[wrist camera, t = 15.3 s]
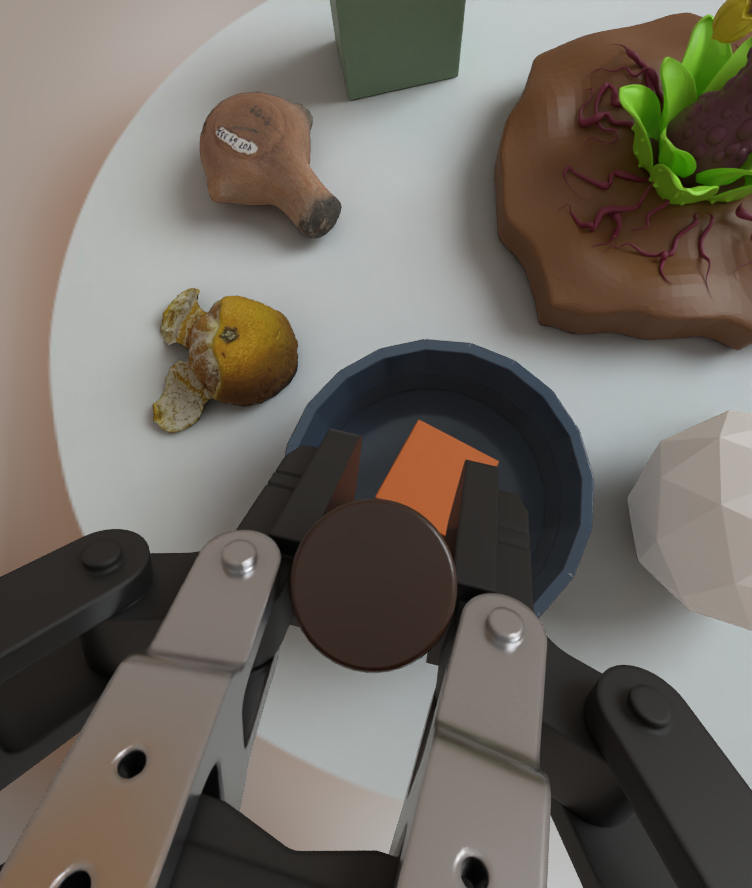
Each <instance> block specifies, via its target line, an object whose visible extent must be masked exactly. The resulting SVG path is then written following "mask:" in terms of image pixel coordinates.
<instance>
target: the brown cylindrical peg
mask: <svg viewBox="0 0 752 888" xmlns="http://www.w3.org/2000/svg"><path fill="white" fill-rule="evenodd" d="M290 598H291V603H292V608H293V612H294V614H295V617H296V620H297V622H298V624H299V626H300V628H301V630H302V632H303V633H304V635H305V636H306V638H307V639H308V641H309V642H310V643H311V644H312V645H313V646H314V647H315V648H316V649H317V650H318V651H319V652H320V653H321V654H322V655H324V656H325V657H326V658H328V659H329V660H331V661H332V662H334V663H336V664H338V665H340V666H342V667H345V668H348V669H351V670H354V671H360V672H366V673H381V672H389V671H393V670H396V669H400V668H403V667H405V666H407V665H410V664H412V663H413V662H415V661H417V660H418V659H420V658H421V657H423V656H424V655H425V654H426V653H427V652H429V651H430V650H431V649H432V648H433V647H434V646H435V645H436V643H437V642H438V641H439V640H440V638H441V637H442V635H443V634H444V632H445V631H446V629H447V627H448V625H449V623H450V620H451V618H452V615H453V612H454V608H455V604H456V598H457V574H456V568H455V564H454V560H453V557H452V554H451V552H450V549H449V547H448V545H447V543H446V541H445V540H444V538H443V536H442V535H441V534H440V532H439V531H438V530H437V528H436V527H435V526H434V525H433V524H432V523H431V522H430V521H429V520H428V519H427V518H425V517H424V516H423V515H422V514H420V513H419V512H417V511H416V510H414V509H412V508H410V507H408V506H406V505H404V504H401V503H398V502H395V501H391V500H385V499H361V500H355V501H352V502H348V503H345V504H343V505H341V506H338V507H336V508H334V509H333V510H331V511H329V512H328V513H326V514H325V515H324V516H322V517H321V518H320V519H319V520H318V521H317V522H316V523H315V524H314V525H313V526H312V527H311V528H310V529H309V531H308V532H307V533H306V534H305V536H304V538H303V539H302V541H301V543H300V544H299V546H298V549H297V551H296V553H295V556H294V560H293V563H292V567H291V573H290Z"/></svg>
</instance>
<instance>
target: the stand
mask: <svg viewBox="0 0 752 888" xmlns="http://www.w3.org/2000/svg"><path fill="white" fill-rule="evenodd" d="M465 2H466V0H330V5H331V12H332V19H333V26H334V32H335V39H336V43H337V48H338V52H339V57H340V61H341V66H342V70H343V75H344V79H345V84H346V88H347V93H348V97H349V100H354V99H359V98H363V97H368V96H372V95H377V94H381V93H385V92H390V91H394V90H399V89H403V88H408V87H412V86H417V85H421V84H425V83H430V82H434V81H439V80H443V79H448V78H452V77H457V76H458V70H459V60H460V50H461V41H462V31H463V21H464V11H465Z"/></svg>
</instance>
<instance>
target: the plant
mask: <svg viewBox="0 0 752 888" xmlns="http://www.w3.org/2000/svg"><path fill="white" fill-rule="evenodd" d="M494 180H495V191H496V205H497V227H498V234H499V238H500V240H501V241H502V243H503V244H504V245H505V246H506V247H507V248H508V249H509V250H510V251H511V252H512V253H513V254H514V255H515V256H516V257H517V258H518V260H519V261H520V262H521V264H522V266H523V267H524V269H525V272H526V274H527V277H528V280H529V283H530V286H531V289H532V293H533V296H534V299H535V303H536V309H537V315H538V321H539V324H540V325H547V326H552V327H556V328H559V329H562V330H565V331H567V332H570V333H575V334H589V333H602V332H612V333H619V334H624V335H628V336H631V337H635V338H639V339H652V340H654V339H668V338H683V337H693V336H698V337H706V338H710V339H713V340H716V341H719V342H721V343H723V344H725V345H727V346H729V347H730V348H732V349H735V350H740V349H742V348H744V347H746V346H747V345H749V344H751V343H752V0H727V1H726V2H725V3H724V4H723V5H722V6H721V7H720V9H719V10H718V12H717V13H716V15H715V17H713V16H712V15H706V16H705V17H700V16H698V15H695V14H692V13H680V14H673V15H669V16H665V17H663V18H660V19H656V20H654V21H651V22H647V23H643V24H639V25H635V26H631V27H625V28H619V29H612V30H607V31H602V32H597V33H593V34H589V35H586V36H583V37H580V38H577V39H575V40H572V41H570V42H567V43H565V44H563V45H560V46H558V47H556V48H554V49H551V50H549V51H546V52H544V53H542V54H540V55H538V56H537V57H536V58H535V59H534V61H533V64H532V67H531V71H530V73H529V76H528V79H527V83H526V86H525V89H524V91H523V93H522V96H521V98H520V100H519V101H518V103H517V104H516V106H515V107H514V109H513V110H512V111H511V113H510V114H509V116H508V118H507V120H506V123H505V126H504V129H503V133H502V137H501V142H500V146H499V151H498V155H497V160H496V164H495V173H494Z"/></svg>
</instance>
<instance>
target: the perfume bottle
mask: <svg viewBox="0 0 752 888" xmlns="http://www.w3.org/2000/svg"><path fill="white" fill-rule="evenodd" d="M627 499H628V506H629V513H630V520H631V526H632V531H633V537H634V542H635V547H636V553H637V558H638V562H639V563H641V564H642V565H643V566H644V567H645V568H646V569H647V570H648V571H649V572H650V573H651V574H652V575H653V576H654V577H655V578H656V579H657V580H658V581H659V582H660V583H661V584H662V585H663V586H664V587H665V588H667V589H668V590H669V591H670V592H671V593H672V594H673V595H674V596H675V597H676V598H677V599H678V600H679V601H680V602H681V603H682V604H683V605H684V606H685V607H686V608H687V609H688V610H690V611H693V612H696V613H699V614H702V615H705V616H708V617H712V618H715V619H718V620H721V621H724V622H727V623H730V624H733V625H736V626H740V627H743V628H746V629H749V630H752V413H745V412H736V411H727V412H724V413H722V414H720V415H718V416H716V417H713V418H711V419H709V420H707V421H704V422H702V423H700V424H698V425H696V426H693V427H691V428H689V429H687V430H684V431H682V432H680V433H678V434H676V435H673V436H671V437H669V438H667V439H665V440H662V441H660V443H659V445H658V446H657V448H656V449H655V451H654V453H653V454H652V456H651V458H650V459H649V461H648V462H647V464H646V466H645V467H644V469H643V471H642V472H641V474H640V476H639V478H638V480H637V482H636V483H635V485H634V487H633V489H632V491H631V492H630V494H629V496H628V498H627Z"/></svg>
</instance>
